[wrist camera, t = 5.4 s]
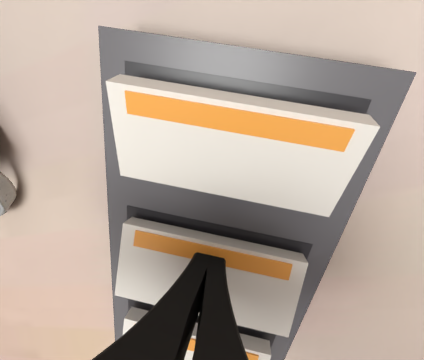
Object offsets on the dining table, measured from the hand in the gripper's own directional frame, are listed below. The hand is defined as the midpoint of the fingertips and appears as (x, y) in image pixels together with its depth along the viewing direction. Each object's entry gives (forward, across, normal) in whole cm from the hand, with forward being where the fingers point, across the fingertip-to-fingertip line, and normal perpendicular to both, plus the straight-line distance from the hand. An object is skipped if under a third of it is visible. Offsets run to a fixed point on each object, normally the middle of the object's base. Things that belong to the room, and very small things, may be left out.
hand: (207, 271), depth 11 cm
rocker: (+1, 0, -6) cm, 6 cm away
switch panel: (+5, 0, +1) cm, 5 cm away
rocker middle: (+2, 0, +1) cm, 2 cm away
